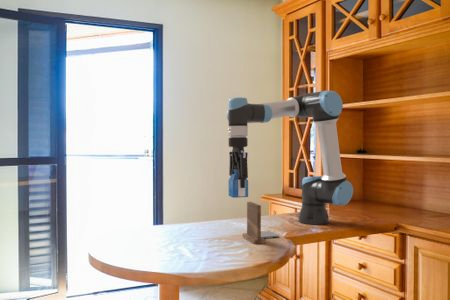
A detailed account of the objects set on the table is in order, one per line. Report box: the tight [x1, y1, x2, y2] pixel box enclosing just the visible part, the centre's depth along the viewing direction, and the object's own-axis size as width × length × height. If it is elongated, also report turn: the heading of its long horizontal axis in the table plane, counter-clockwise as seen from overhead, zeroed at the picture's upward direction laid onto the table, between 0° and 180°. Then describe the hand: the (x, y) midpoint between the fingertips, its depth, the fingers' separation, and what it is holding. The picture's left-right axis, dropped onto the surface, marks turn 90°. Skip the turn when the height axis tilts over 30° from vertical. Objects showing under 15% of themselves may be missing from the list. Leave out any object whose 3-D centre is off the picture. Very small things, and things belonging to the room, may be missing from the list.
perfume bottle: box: [228, 166, 249, 199], centre depth 156 cm, size 6×6×12 cm
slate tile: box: [261, 230, 280, 239], centre depth 169 cm, size 9×9×1 cm
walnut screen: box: [241, 201, 267, 245], centre depth 161 cm, size 5×12×15 cm, turn 20°
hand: (238, 194), depth 157 cm, fingers closed on perfume bottle, 6 cm apart
